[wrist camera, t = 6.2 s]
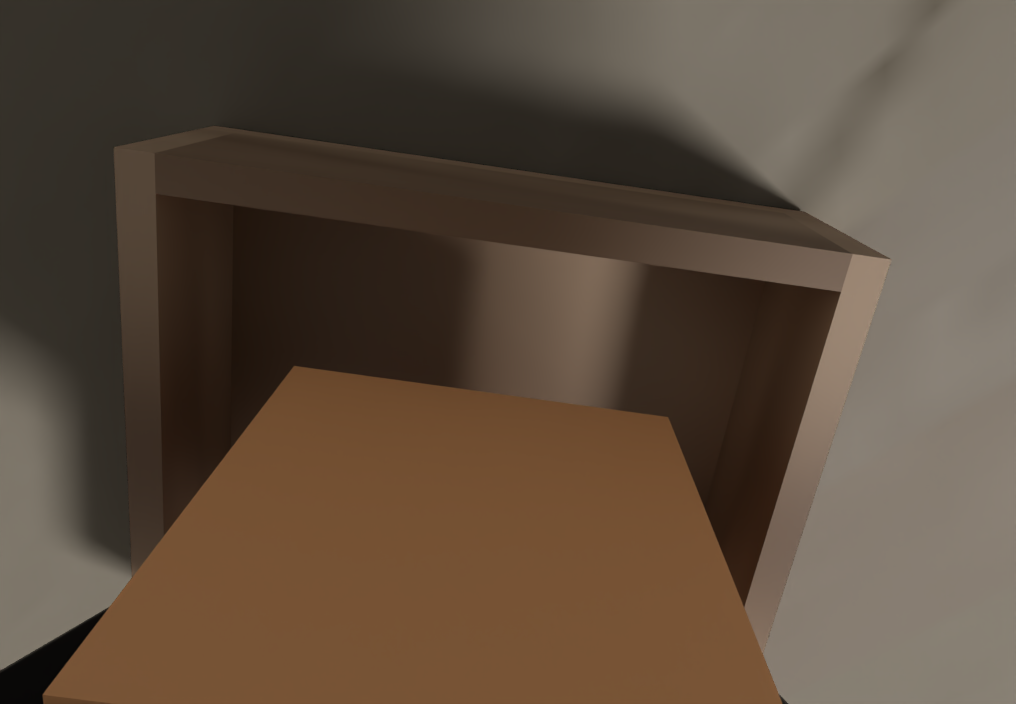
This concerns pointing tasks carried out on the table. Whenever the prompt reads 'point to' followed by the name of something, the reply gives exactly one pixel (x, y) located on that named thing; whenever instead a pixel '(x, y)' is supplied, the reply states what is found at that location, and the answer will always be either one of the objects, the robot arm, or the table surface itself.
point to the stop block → (431, 563)
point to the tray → (484, 314)
